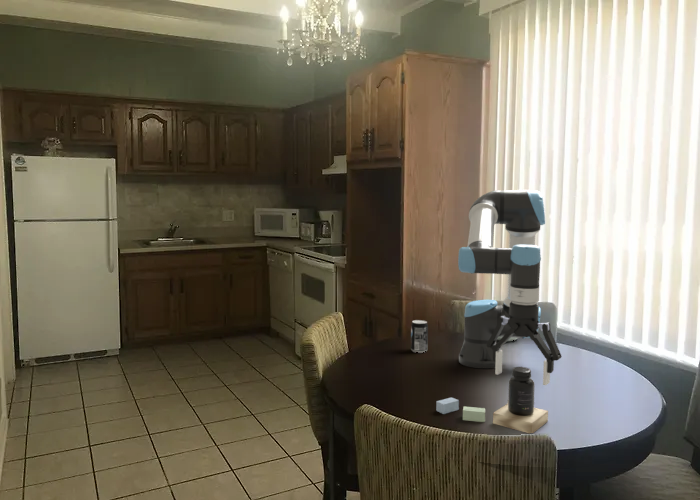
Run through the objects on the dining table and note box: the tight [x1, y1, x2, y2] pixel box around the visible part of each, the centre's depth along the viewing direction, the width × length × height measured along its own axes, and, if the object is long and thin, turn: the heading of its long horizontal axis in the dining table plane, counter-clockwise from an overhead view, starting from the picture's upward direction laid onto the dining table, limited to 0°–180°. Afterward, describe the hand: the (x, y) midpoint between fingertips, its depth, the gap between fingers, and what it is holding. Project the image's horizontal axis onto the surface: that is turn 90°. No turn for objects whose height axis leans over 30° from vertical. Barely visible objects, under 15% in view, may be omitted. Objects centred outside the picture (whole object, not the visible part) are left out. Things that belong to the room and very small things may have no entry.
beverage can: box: [410, 319, 429, 354], centre depth 229 cm, size 7×7×12 cm
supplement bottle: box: [507, 366, 536, 416], centre depth 156 cm, size 7×7×12 cm
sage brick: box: [462, 405, 486, 423], centre depth 160 cm, size 6×3×3 cm, turn 75°
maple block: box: [492, 403, 549, 434], centre depth 157 cm, size 11×11×3 cm
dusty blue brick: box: [435, 397, 460, 415], centre depth 166 cm, size 6×3×3 cm, turn 124°
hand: (521, 378), depth 157 cm, fingers open, 13 cm apart
